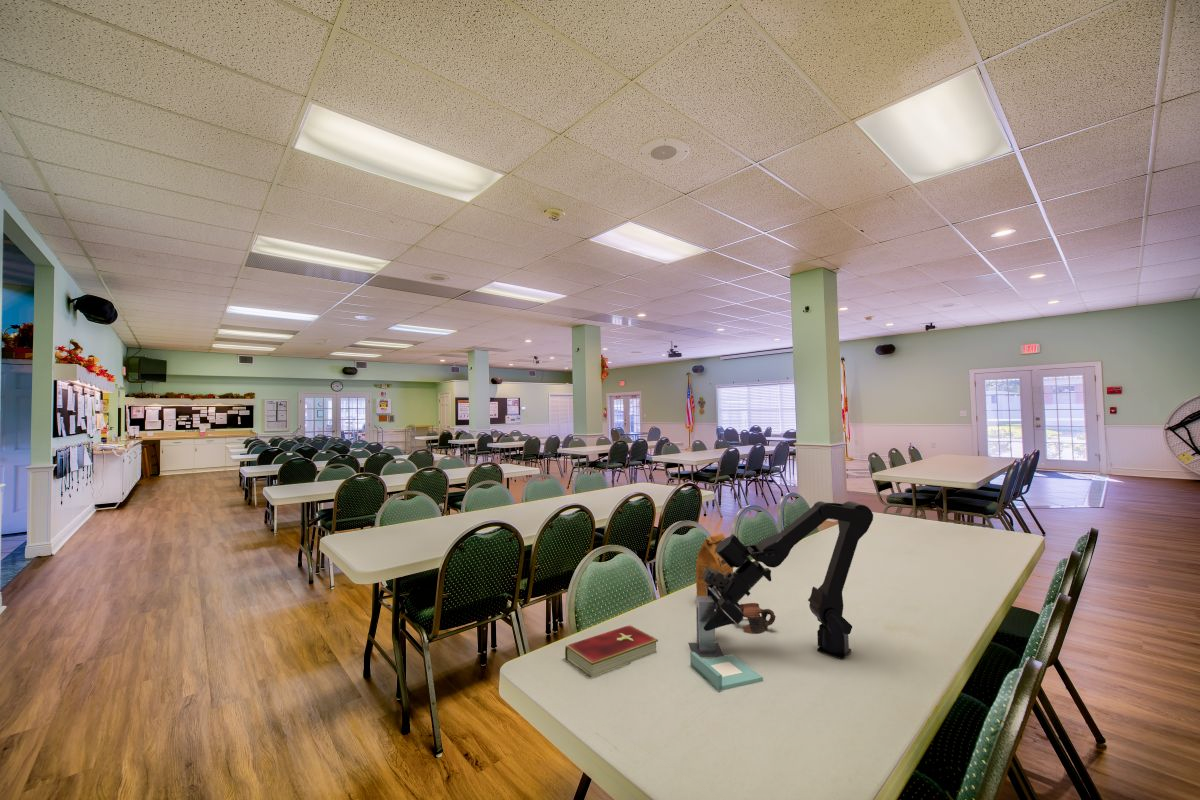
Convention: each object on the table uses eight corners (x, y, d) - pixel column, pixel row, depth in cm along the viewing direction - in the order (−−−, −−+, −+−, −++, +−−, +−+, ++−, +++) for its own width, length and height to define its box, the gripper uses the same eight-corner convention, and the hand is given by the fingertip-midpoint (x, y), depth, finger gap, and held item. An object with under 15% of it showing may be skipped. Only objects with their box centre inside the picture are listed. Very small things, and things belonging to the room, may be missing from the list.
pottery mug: (734, 635, 139) (728, 604, 143) (740, 639, 146) (734, 609, 150) (777, 630, 135) (769, 598, 139) (781, 633, 142) (774, 603, 147)
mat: (717, 644, 132) (717, 642, 132) (724, 658, 124) (724, 656, 124) (688, 644, 132) (688, 642, 132) (693, 658, 124) (693, 656, 124)
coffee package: (738, 601, 163) (737, 534, 164) (718, 611, 155) (716, 541, 156) (713, 594, 171) (712, 530, 172) (692, 603, 162) (691, 536, 163)
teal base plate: (732, 658, 124) (731, 644, 124) (763, 682, 113) (762, 666, 113) (690, 667, 120) (690, 652, 120) (718, 692, 108) (718, 675, 109)
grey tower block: (711, 645, 130) (710, 596, 131) (715, 653, 126) (714, 602, 127) (696, 645, 130) (695, 595, 131) (699, 653, 126) (698, 602, 127)
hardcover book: (565, 660, 125) (565, 643, 125) (629, 638, 137) (628, 623, 137) (592, 680, 115) (592, 662, 115) (658, 655, 127) (658, 638, 127)
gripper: (713, 548, 139) (674, 588, 138) (729, 568, 120) (684, 613, 120) (741, 577, 138) (702, 616, 138) (762, 601, 119) (717, 647, 119)
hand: (701, 622), depth 129 cm, fingers open, 9 cm apart
